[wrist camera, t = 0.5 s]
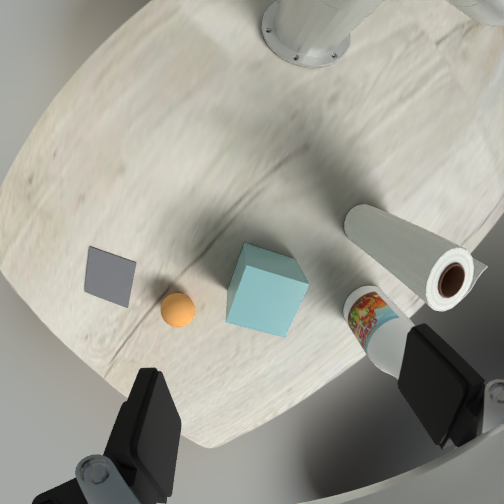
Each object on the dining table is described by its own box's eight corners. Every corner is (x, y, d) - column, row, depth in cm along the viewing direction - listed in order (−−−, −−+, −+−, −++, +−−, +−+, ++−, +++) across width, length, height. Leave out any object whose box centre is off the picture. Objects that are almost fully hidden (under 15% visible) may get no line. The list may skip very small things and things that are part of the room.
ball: (168, 282, 42) (160, 298, 37) (200, 292, 43) (196, 309, 38) (161, 310, 43) (154, 327, 39) (192, 320, 44) (188, 338, 39)
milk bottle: (384, 279, 44) (455, 348, 25) (383, 318, 46) (442, 394, 27) (340, 290, 44) (398, 372, 25) (342, 330, 46) (390, 416, 27)
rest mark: (90, 246, 40) (89, 246, 39) (136, 262, 41) (135, 263, 41) (85, 291, 42) (84, 291, 42) (128, 307, 43) (127, 307, 43)
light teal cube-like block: (244, 242, 41) (246, 265, 32) (295, 259, 42) (309, 284, 34) (227, 290, 43) (225, 322, 35) (276, 304, 44) (284, 337, 36)
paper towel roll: (335, 233, 41) (415, 302, 21) (354, 196, 39) (450, 236, 19) (373, 252, 42) (459, 322, 22) (391, 217, 41) (489, 267, 20)
